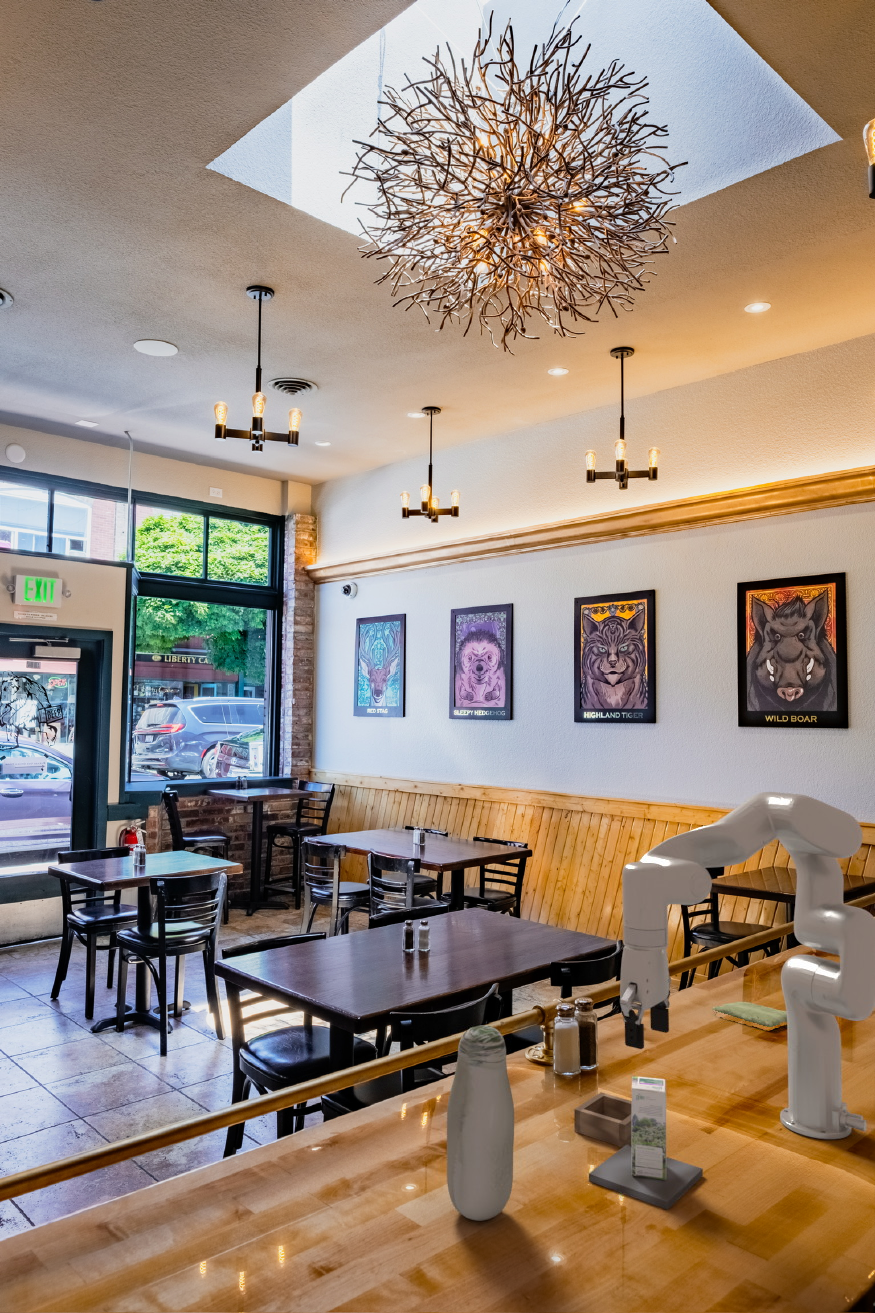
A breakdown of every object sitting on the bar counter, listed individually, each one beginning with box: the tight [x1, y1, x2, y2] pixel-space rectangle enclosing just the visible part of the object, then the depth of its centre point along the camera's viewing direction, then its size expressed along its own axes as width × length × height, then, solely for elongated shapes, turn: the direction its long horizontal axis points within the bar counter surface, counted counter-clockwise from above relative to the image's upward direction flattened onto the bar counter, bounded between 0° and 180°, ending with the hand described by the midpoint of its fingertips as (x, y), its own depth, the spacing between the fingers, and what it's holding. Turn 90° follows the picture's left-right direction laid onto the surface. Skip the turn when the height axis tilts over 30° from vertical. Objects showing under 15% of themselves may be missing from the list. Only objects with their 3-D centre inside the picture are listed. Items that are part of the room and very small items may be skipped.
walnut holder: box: [573, 1091, 632, 1148], centre depth 170 cm, size 10×10×4 cm
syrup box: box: [631, 1075, 667, 1180], centre depth 152 cm, size 6×6×14 cm
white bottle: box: [446, 1024, 515, 1222], centre depth 141 cm, size 10×10×28 cm
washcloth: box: [712, 1001, 787, 1027], centre depth 236 cm, size 13×18×3 cm
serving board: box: [588, 1144, 704, 1210], centre depth 152 cm, size 14×14×1 cm
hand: (647, 1039), depth 153 cm, fingers open, 9 cm apart
